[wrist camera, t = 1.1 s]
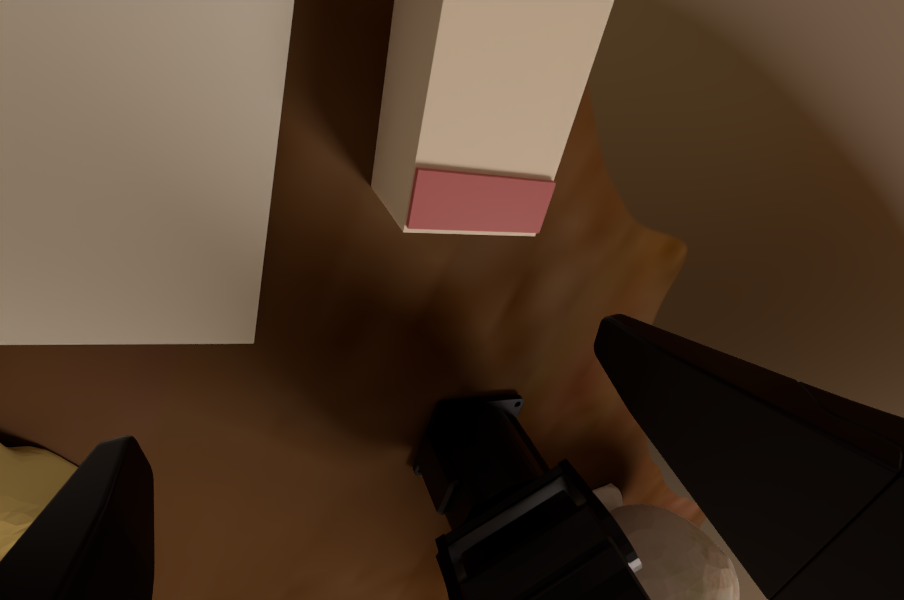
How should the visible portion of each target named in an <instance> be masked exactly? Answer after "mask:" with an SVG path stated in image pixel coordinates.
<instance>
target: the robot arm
mask: <svg viewBox="0 0 904 600" xmlns="http://www.w3.org/2000/svg"><path fill="white" fill-rule="evenodd" d="M594 352H595V355H596V357H597V358H598V360H599V362H600V363H601V365H602V367H603V368H604V370H605V372H606V374H607V375H608V377H609V379H610V380H611V382H612V384H613V385H614V387H615V389H616V390H617V392H618V394H619V395H620V397H621V399H622V400H623V402H624V404H625V405H626V407H627V408H628V410H629V411H630V413H631V414H632V416H633V417H634V419H635V420H636V421H637V423H638V424H639V425H640V427H641V428H642V430H643V431H644V432H645V434H646V435H647V436H648V438H649V439H650V440H651V442H652V443H653V445H654V446H655V447H656V449H657V450H658V451H659V453H660V454H661V455H662V457H663V458H664V459H665V461H666V462H667V464H668V465H669V466H670V468H671V469H672V470H673V472H674V473H675V474H676V476H677V477H678V479H679V480H680V481H681V483H682V484H683V485H684V487H685V488H686V489H687V491H688V492H689V493H690V495H691V496H692V497H693V499H694V500H695V502H696V503H697V504H698V506H699V507H700V508H701V510H702V511H703V513H704V514H705V515H706V517H707V518H708V519H709V521H710V522H711V523H712V525H713V526H714V527H715V529H716V530H717V531H718V533H719V534H720V536H721V537H722V538H723V540H724V541H725V542H726V544H727V545H728V546H729V548H730V549H731V551H732V552H733V553H734V555H735V556H736V557H737V559H738V560H739V561H740V563H741V564H742V565H743V567H744V568H745V570H746V571H747V572H748V573H749V575H750V576H751V578H752V579H753V581H754V582H755V583H756V585H757V586H758V587H759V589H760V590H761V591H762V593H763V594H764V595H765V597H766V598H767V599H768V600H904V418H903V417H900V416H897V415H893V414H891V413H887V412H884V411H881V410H879V409H875V408H873V407H870V406H867V405H864V404H861V403H858V402H855V401H852V400H849V399H846V398H844V397H841V396H838V395H835V394H833V393H830V392H827V391H824V390H821V389H819V388H816V387H814V386H811V385H808V384H805V383H803V382H798V381H797V380H795V379H792V378H789V377H787V376H785V375H782V374H779V373H776V372H774V371H771V370H768V369H766V368H763V367H761V366H758V365H755V364H753V363H750V362H747V361H745V360H742V359H740V358H737V357H734V356H732V355H729V354H726V353H724V352H721V351H718V350H716V349H713V348H710V347H708V346H705V345H702V344H700V343H697V342H695V341H692V340H689V339H687V338H684V337H681V336H679V335H676V334H673V333H671V332H668V331H666V330H663V329H660V328H657V327H655V326H652V325H650V324H647V323H644V322H642V321H639V320H636V319H634V318H631V317H629V316H626V315H623V314H615V315H611V316H607V317H604V318H603V319H602V320H601V323H600V326H599V329H598V332H597V336H596V339H595V342H594ZM523 404H524V400H523V398H522V397H521V396H520V395H507V396H493V397H480V398H467V399H453V400H444V401H441V402H439V403H438V404H437V406H436V408H435V410H434V413H433V415H432V418H431V421H430V423H429V426H428V429H427V431H426V433H425V435H424V438H423V441H422V443H421V446H420V448H419V451H418V454H417V456H416V460H415V462H414V465H413V470H414V473H415V475H422V476H423V479H424V481H425V484H426V486H427V489H428V491H429V494H430V496H431V499H432V501H433V504H434V506H435V509H436V511H437V512H438V513H439V514H440V515H443V514H445V515H446V517H447V520H448V522H449V525H450V527H451V529H452V531H451V532H449V533H448V534H446V535H444V534H443V535H441V536H440V537H438V538H436V539H435V541H436V544H437V548H438V551H439V552H438V554H437V555H436V558H437V561H438V564H439V566H440V569H441V572H442V574H443V577H444V581H445V584H446V588H447V592H448V598H449V600H651V599H650V598H649V596H648V594H647V593H646V591H645V590H644V588H643V586H642V585H641V583H640V582H639V580H638V579H637V577H636V575H635V573H636V572H638V571H639V570H641V569H642V564H641V562H640V559H639V557H638V555H637V553H636V552H635V550H634V548H633V546H632V545H631V543H630V541H629V540H628V538H627V537H626V535H625V533H624V532H623V530H622V529H621V527H620V526H619V525H618V523H617V522H616V520H615V519H614V518H613V516H612V515H611V513H610V512H609V511H608V510H607V508H606V507H605V506H604V505H603V503H602V502H601V501H600V500H599V498H598V497H597V496H596V495H595V494H594V492H593V491H592V490H591V489H590V487H589V486H588V485H587V484H586V483H585V481H584V480H583V479H582V478H581V476H580V475H579V474H578V473H577V471H576V470H575V469H574V468H573V467H572V465H571V464H570V463H569V462H568V460H567V459H566V458H565V459H564V460H562V461H561V462H559V463H558V465H557V466H556V467H554V468H552V469H551V470H550V468H549V467H548V465H547V464H546V462H545V461H544V459H543V458H542V456H541V455H540V453H539V452H538V450H537V449H536V447H535V446H534V444H533V443H532V441H531V440H530V438H529V437H528V435H527V434H526V432H525V431H524V429H523V428H522V426H521V425H520V423H519V422H518V420H517V419H516V418H517V416H518V414H519V412H520V410H521V408H522V406H523ZM153 583H154V480H153V472H152V469H151V466H150V464H149V462H148V460H147V458H146V457H145V455H144V453H143V451H142V449H141V448H140V446H139V444H138V442H137V440H136V439H135V438H134V437H133V436H131V435H126V436H121V437H117V438H113V439H109V440H105V441H102V442H100V443H99V444H98V445H97V446H96V447H95V448H94V449H93V450H92V451H91V453H90V454H89V455H88V456H87V457H86V459H85V460H84V461H83V462H82V463H81V465H80V466H79V467H78V468H77V469H76V471H75V472H74V473H73V474H72V475H71V477H70V478H69V479H68V480H67V481H66V483H65V484H64V485H63V486H62V487H61V489H60V490H59V491H58V492H57V493H56V495H55V496H54V497H53V498H52V499H51V501H50V502H49V503H48V504H47V505H46V507H45V508H44V509H43V510H42V511H41V513H40V514H39V515H38V516H37V517H36V519H35V520H34V521H33V522H32V523H31V525H30V526H29V527H28V528H27V529H26V531H25V532H24V533H23V534H22V535H21V537H20V538H19V539H18V540H17V541H16V543H15V544H14V545H13V546H12V547H11V549H10V550H9V551H8V552H7V554H6V555H5V556H4V557H3V558H2V560H1V561H0V600H152V594H153Z"/></svg>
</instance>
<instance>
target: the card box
mask: <svg viewBox="0 0 904 600" xmlns="http://www.w3.org/2000/svg"><path fill="white" fill-rule="evenodd" d="M613 2H614V0H394V8H393V16H392V24H391V32H390V40H389V48H388V56H387V64H386V72H385V79H384V87H383V95H382V103H381V111H380V119H379V127H378V135H377V143H376V151H375V159H374V167H373V175H372V183H371V188H372V189H373V190H374V192H375V193H376V195H377V196H378V197H379V199H380V200H381V202H382V203H383V205H384V206H385V207H386V209H387V210H388V212H389V213H390V214H391V216H392V217H393V219H394V220H395V221H396V223H397V224H398V226H399V227H400V228H401V230H402V231H403V232H411V233H444V234H478V235H511V236H535V234H536V233H539V232H540V229H541V226H542V223H543V220H544V217H545V215H546V212H547V209H548V206H549V203H550V200H551V197H552V194H553V191H554V188H555V185H556V183H555V182H554V178H555V175H556V172H557V169H558V166H559V163H560V160H561V157H562V154H563V151H564V148H565V145H566V142H567V139H568V136H569V133H570V130H571V127H572V124H573V121H574V118H575V115H576V112H577V109H578V106H579V103H580V100H581V97H582V94H583V91H584V88H585V85H586V82H587V79H588V76H589V74H590V70H591V68H592V65H593V62H594V59H595V56H596V53H597V50H598V47H599V44H600V41H601V38H602V35H603V32H604V29H605V26H606V23H607V20H608V17H609V14H610V11H611V8H612V5H613Z"/></svg>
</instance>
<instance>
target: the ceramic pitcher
mask: <svg viewBox="0 0 904 600" xmlns="http://www.w3.org/2000/svg"><path fill="white" fill-rule="evenodd" d="M592 491H593V492H594V494H595V495H596V496H597V497H598V498H599V500H600V501H601V502H602V503H603V505H604V506H605V507H606V508H607V510H608V511H609V512H610V513H611V515H612V516H613V518H614V519H615V520H616V522H617V523H618V525H619V526H620V527H621V529H622V530H623V532H624V533H625V535H626V537H627V538H628V540H629V541H630V543H631V545H632V546H633V548H634V550H635V552H636V553H637V555H638V557H639V559H640V562H641V564H642V569H641V570H639V571H638V572H636V573H635V575H636V577H637V579H638V580H639V582H640V583H641V585H642V586H643V588H644V590H645V591H646V593H647V594H648V596H649V598H650V599H651V600H739V597H740V595H739V583H738V578H737V575H736V572H735V569H734V567H733V565H732V562H731V560H730V558H729V557H728V556H727V555H726V554H725V553H724V552H723V551H722V550H721V548H720V547H719V546H718V545H717V544H716V543H715V542H714V541H713V540H712V539H711V538H710V537H709V536H708V535H707V534H706V533H705V532H703V531H702V530H701V529H700V528H699V527H697V526H696V525H694V524H693V523H691V522H690V521H688V520H687V519H686V518H684V517H682V516H680V515H678V514H676V513H674V512H672V511H670V510H667V509H665V508H662V507H657V506H652V505H646V504H634V505H626V506H623V505H622V496H621V492H620V491H619V489H618V488H617V487H615V486H614V485H613V484H612V483H610V484H608V485H606V486H603V487H600V488H597V489H594V490H592Z"/></svg>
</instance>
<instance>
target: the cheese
mask: <svg viewBox="0 0 904 600" xmlns="http://www.w3.org/2000/svg"><path fill="white" fill-rule="evenodd" d="M77 468H78V467H77V466H75V465H74V464H72V463H70V462H68V461H67V460H65V459H63V458H61V457H60V456H58V455H56V454H54V453H52V452H50V451H48V450H45V449H40V448H36V447H31V446H22V447H5V446H4V445H2V444H1V443H0V561H1V560H2V558H3V557H4V556H5V555H6V554H7V552H8V551H9V550H10V549H11V547H12V546H13V545H14V544H15V543H16V541H17V540H18V539H19V538H20V537H21V535H22V534H23V533H24V532H25V531H26V529H27V528H28V527H29V526H30V525H31V523H32V522H33V521H34V520H35V519H36V517H37V516H38V515H39V514H40V513H41V511H42V510H43V509H44V508H45V507H46V505H47V504H48V503H49V502H50V501H51V499H52V498H53V497H54V496H55V495H56V493H57V492H58V491H59V490H60V489H61V487H62V486H63V485H64V484H65V483H66V481H67V480H68V479H69V478H70V477H71V475H72V474H73V473H74V472H75V471H76V469H77Z"/></svg>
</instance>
